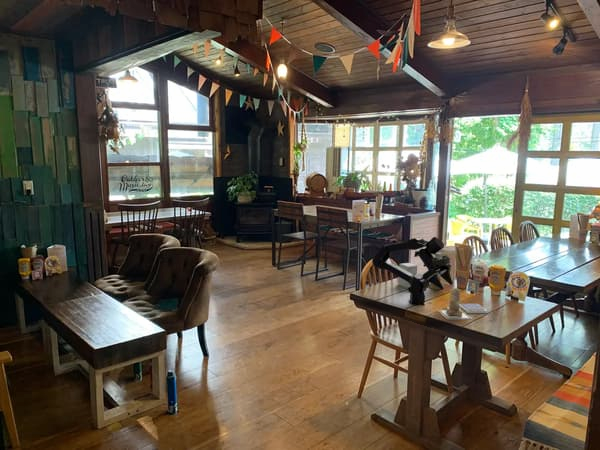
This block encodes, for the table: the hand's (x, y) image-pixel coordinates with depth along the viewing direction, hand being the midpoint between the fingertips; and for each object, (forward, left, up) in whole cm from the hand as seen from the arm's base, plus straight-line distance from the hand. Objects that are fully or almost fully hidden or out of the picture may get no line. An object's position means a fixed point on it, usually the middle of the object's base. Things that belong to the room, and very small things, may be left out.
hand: (447, 286), depth 210 cm
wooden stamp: (+3, -4, -12) cm, 13 cm away
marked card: (+3, -4, -13) cm, 13 cm away
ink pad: (+15, +3, -13) cm, 20 cm away
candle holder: (+11, +39, -13) cm, 42 cm away
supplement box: (-5, +42, -13) cm, 44 cm away
